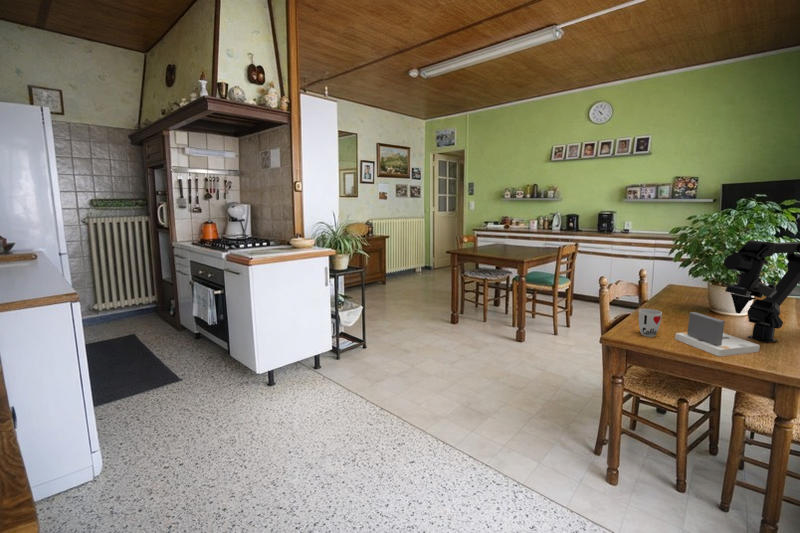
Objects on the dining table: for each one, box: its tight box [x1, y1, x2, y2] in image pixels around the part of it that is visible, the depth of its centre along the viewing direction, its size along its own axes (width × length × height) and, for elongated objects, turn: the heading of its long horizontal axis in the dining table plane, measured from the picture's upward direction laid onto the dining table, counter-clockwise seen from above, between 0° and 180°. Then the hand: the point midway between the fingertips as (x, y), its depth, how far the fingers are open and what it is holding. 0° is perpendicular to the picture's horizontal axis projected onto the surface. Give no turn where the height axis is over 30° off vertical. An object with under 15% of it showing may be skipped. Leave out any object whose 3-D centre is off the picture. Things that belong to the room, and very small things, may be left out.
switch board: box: [674, 331, 761, 357], centre depth 153 cm, size 18×18×3 cm
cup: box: [638, 308, 663, 338], centre depth 165 cm, size 8×8×10 cm
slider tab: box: [687, 311, 726, 345], centre depth 151 cm, size 3×12×9 cm, turn 12°
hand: (737, 313), depth 153 cm, fingers closed
